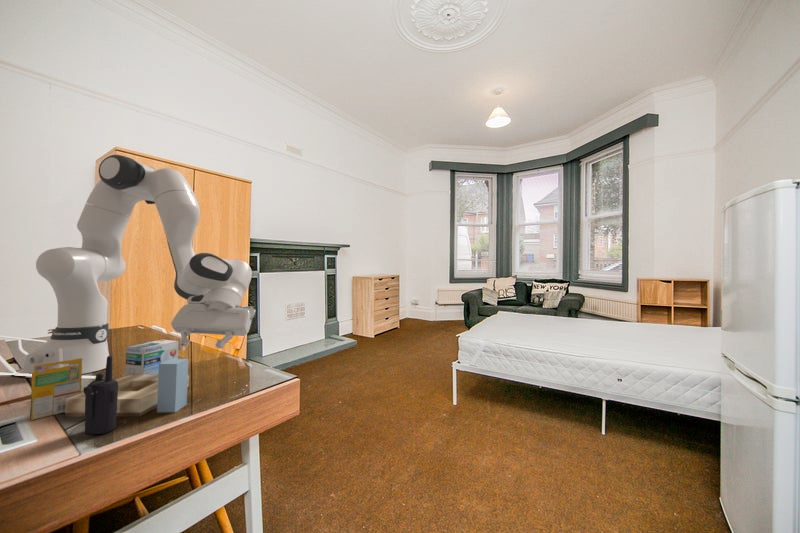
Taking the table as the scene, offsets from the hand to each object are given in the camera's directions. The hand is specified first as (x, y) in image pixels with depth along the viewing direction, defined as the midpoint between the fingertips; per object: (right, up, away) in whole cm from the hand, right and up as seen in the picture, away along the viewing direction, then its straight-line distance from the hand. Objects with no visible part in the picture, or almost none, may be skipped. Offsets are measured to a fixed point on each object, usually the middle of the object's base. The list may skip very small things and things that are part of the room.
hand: (200, 346), depth 81 cm
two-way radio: (-6, -12, -21) cm, 25 cm away
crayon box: (-24, -11, -13) cm, 30 cm away
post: (0, -12, -10) cm, 16 cm away
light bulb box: (-20, -12, +8) cm, 24 cm away
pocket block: (-12, -12, -7) cm, 18 cm away
